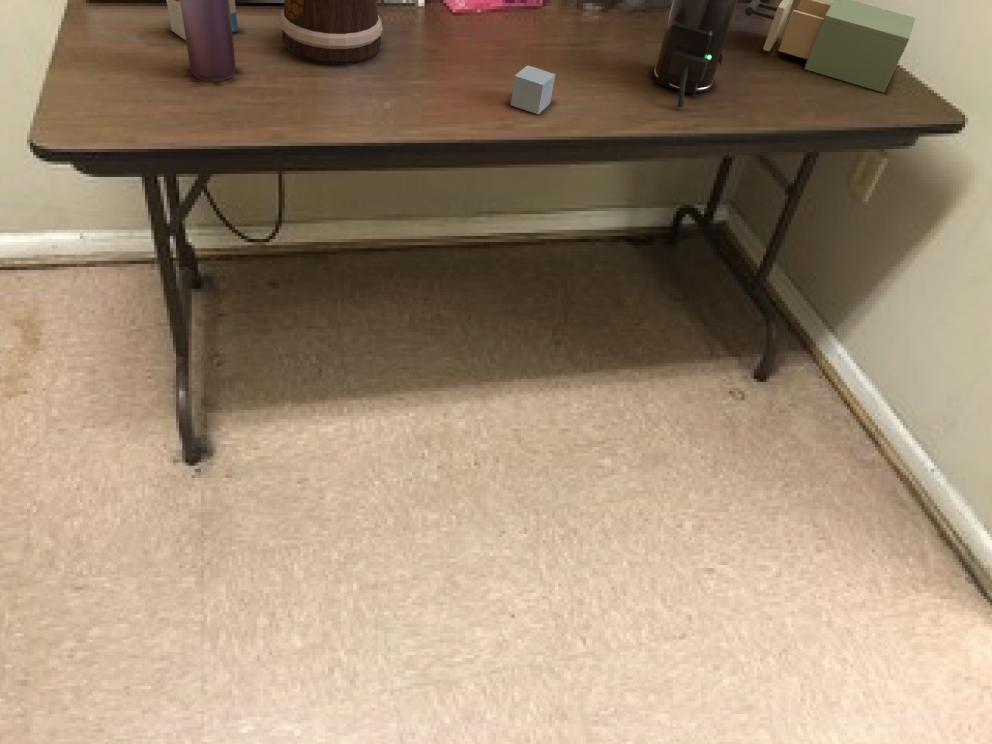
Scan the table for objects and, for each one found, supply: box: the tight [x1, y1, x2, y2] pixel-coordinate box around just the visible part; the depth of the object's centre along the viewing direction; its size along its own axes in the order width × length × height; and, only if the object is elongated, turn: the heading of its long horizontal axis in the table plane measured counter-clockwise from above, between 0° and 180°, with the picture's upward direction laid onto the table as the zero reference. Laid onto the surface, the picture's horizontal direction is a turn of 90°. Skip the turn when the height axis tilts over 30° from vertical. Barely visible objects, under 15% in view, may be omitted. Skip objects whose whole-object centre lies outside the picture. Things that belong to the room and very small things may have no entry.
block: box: [510, 65, 556, 115], centre depth 116 cm, size 4×4×4 cm
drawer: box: [744, 0, 832, 60], centre depth 142 cm, size 18×10×7 cm, turn 64°
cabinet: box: [804, 0, 916, 94], centre depth 139 cm, size 14×12×9 cm
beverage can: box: [180, 0, 237, 83], centre depth 107 cm, size 6×6×15 cm
